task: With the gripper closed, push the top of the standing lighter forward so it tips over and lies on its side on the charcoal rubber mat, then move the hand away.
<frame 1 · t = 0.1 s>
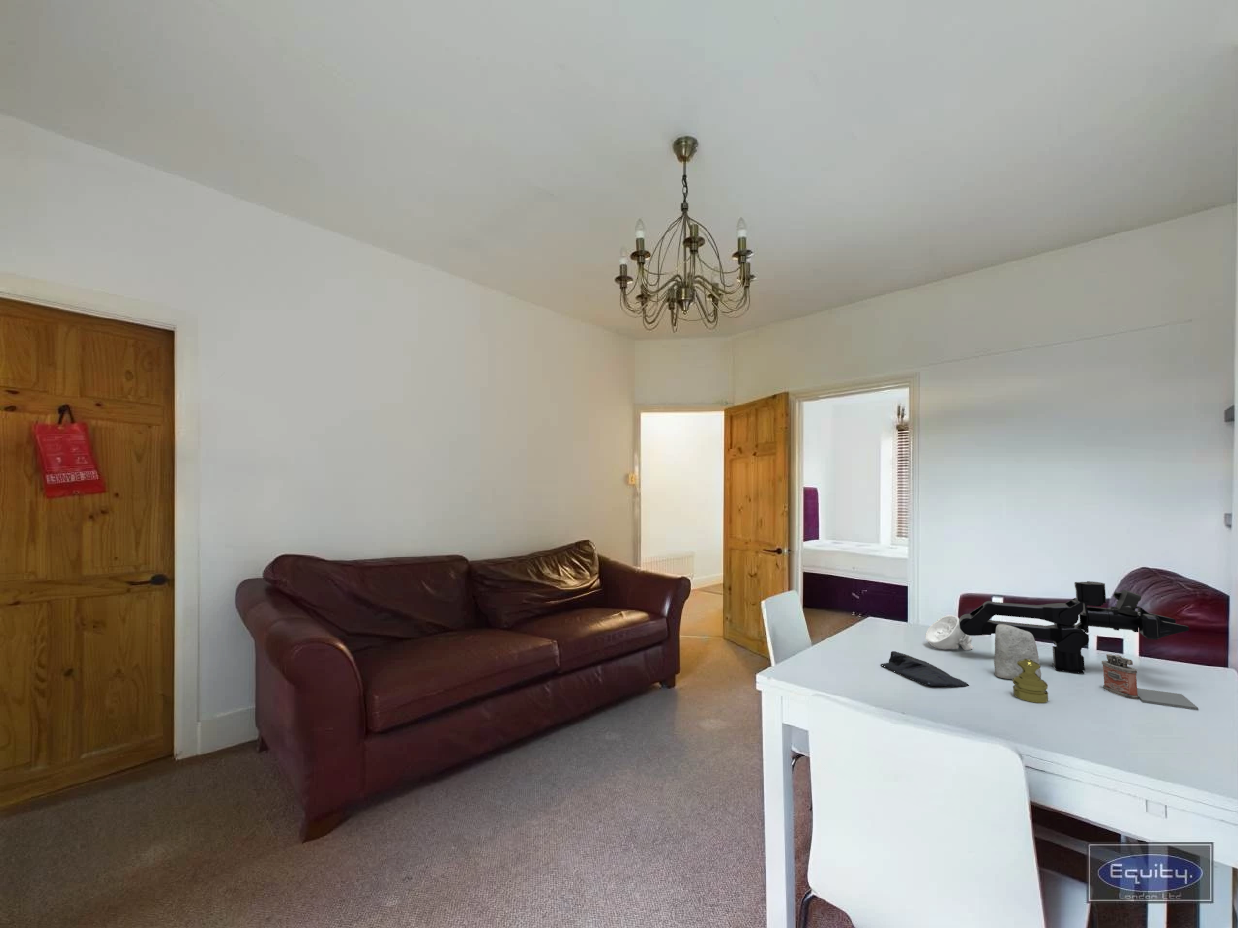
hand: (1181, 624, 144), 17 cm above the table, tool horizontal, fingers open, 9 cm apart
skull bowl: (950, 648, 180), on the table
mat: (1162, 699, 134), on the table
dark slate chunk: (922, 677, 154), on the table
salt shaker: (1030, 698, 136), on the table
lighter: (1120, 694, 138), on the table
decorative stone: (1017, 678, 150), on the table
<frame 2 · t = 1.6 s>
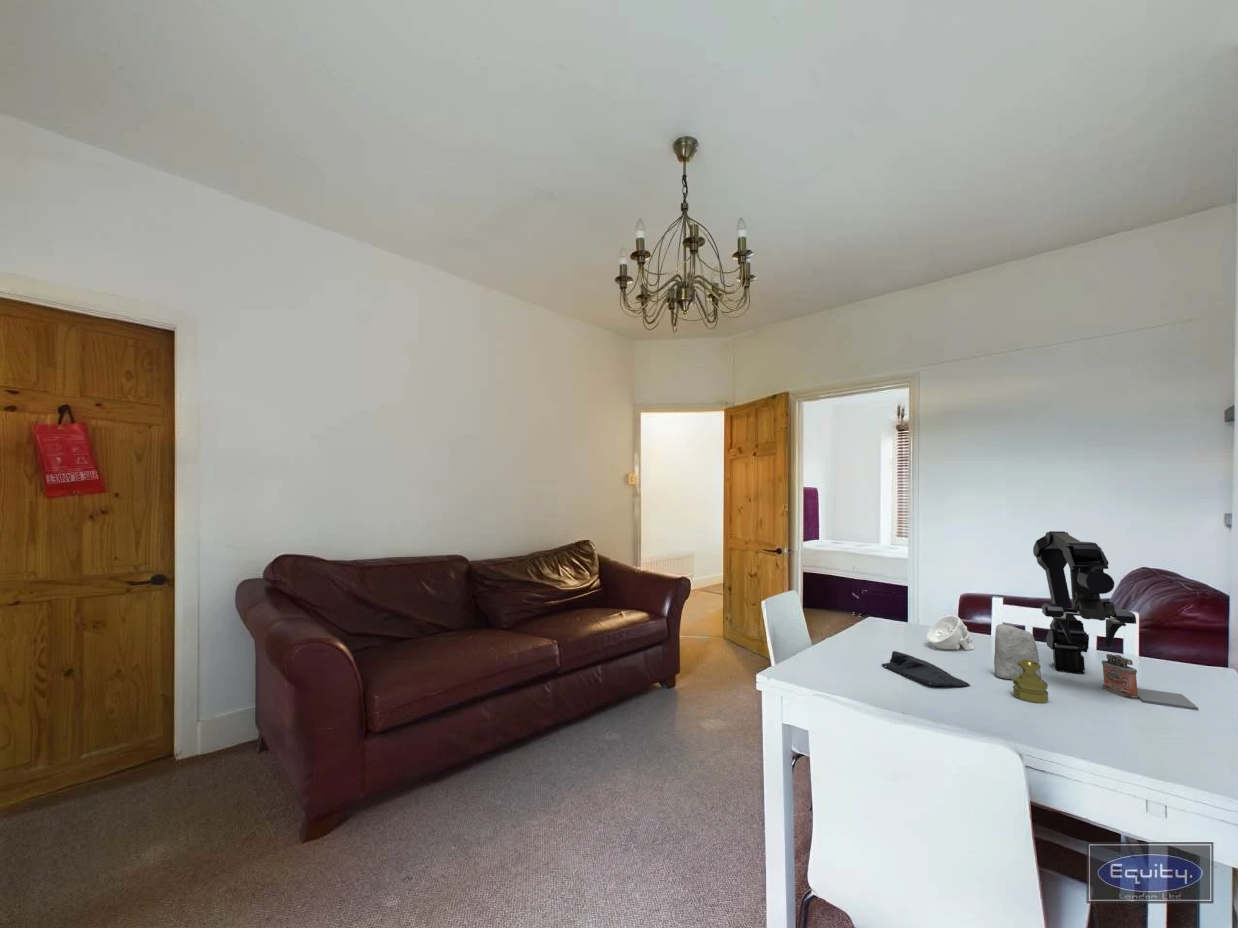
hand: (1088, 644, 142), 12 cm above the table, tool pointing down, fingers open, 8 cm apart
nothing on the table moved.
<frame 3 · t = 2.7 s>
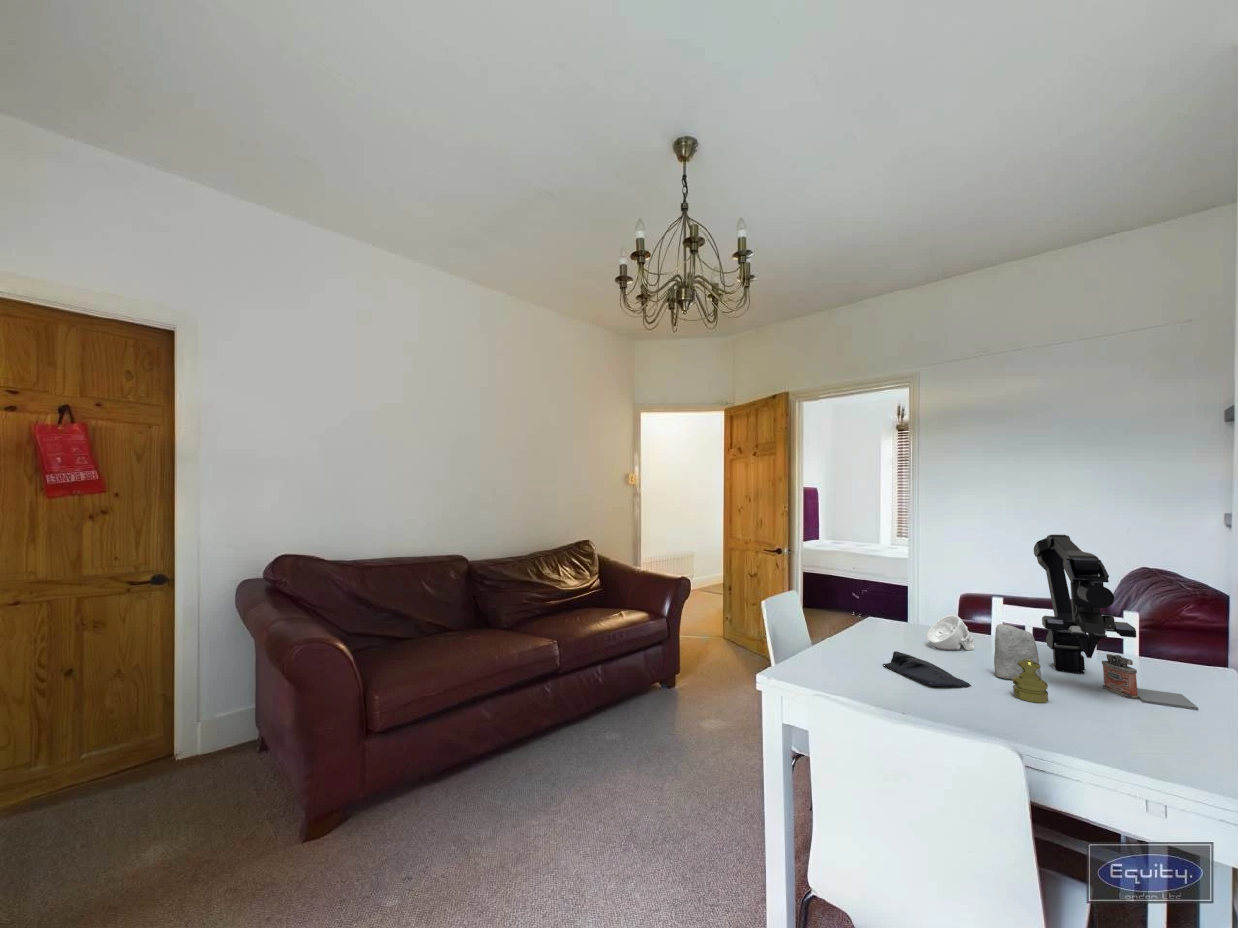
hand: (1088, 657, 142), 9 cm above the table, tool pointing down, fingers closed
nothing on the table moved.
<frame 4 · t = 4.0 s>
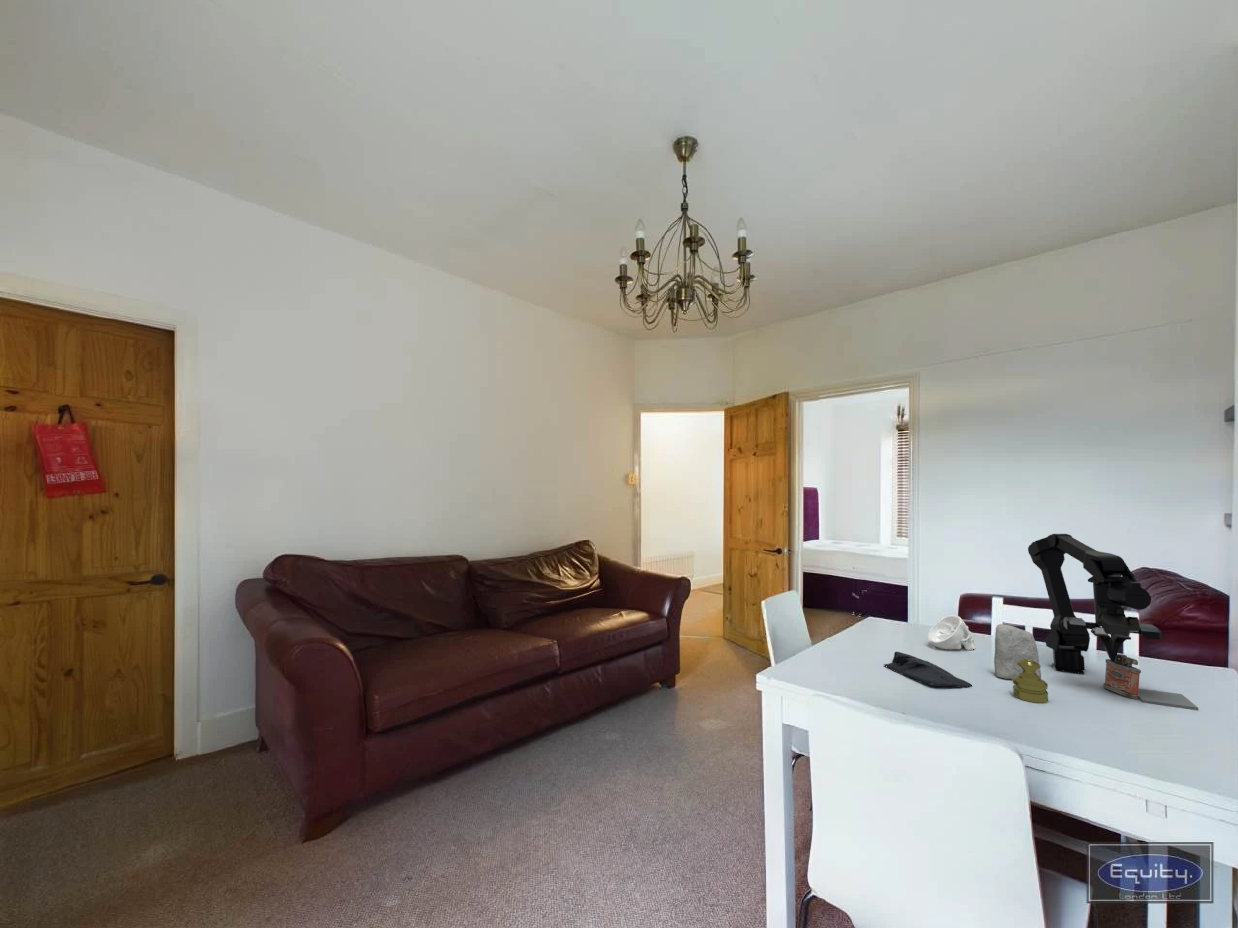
hand: (1112, 659, 139), 9 cm above the table, tool pointing down, fingers closed
lighter: (1120, 693, 138), on the table, touching gripper, mat
everything else where it was.
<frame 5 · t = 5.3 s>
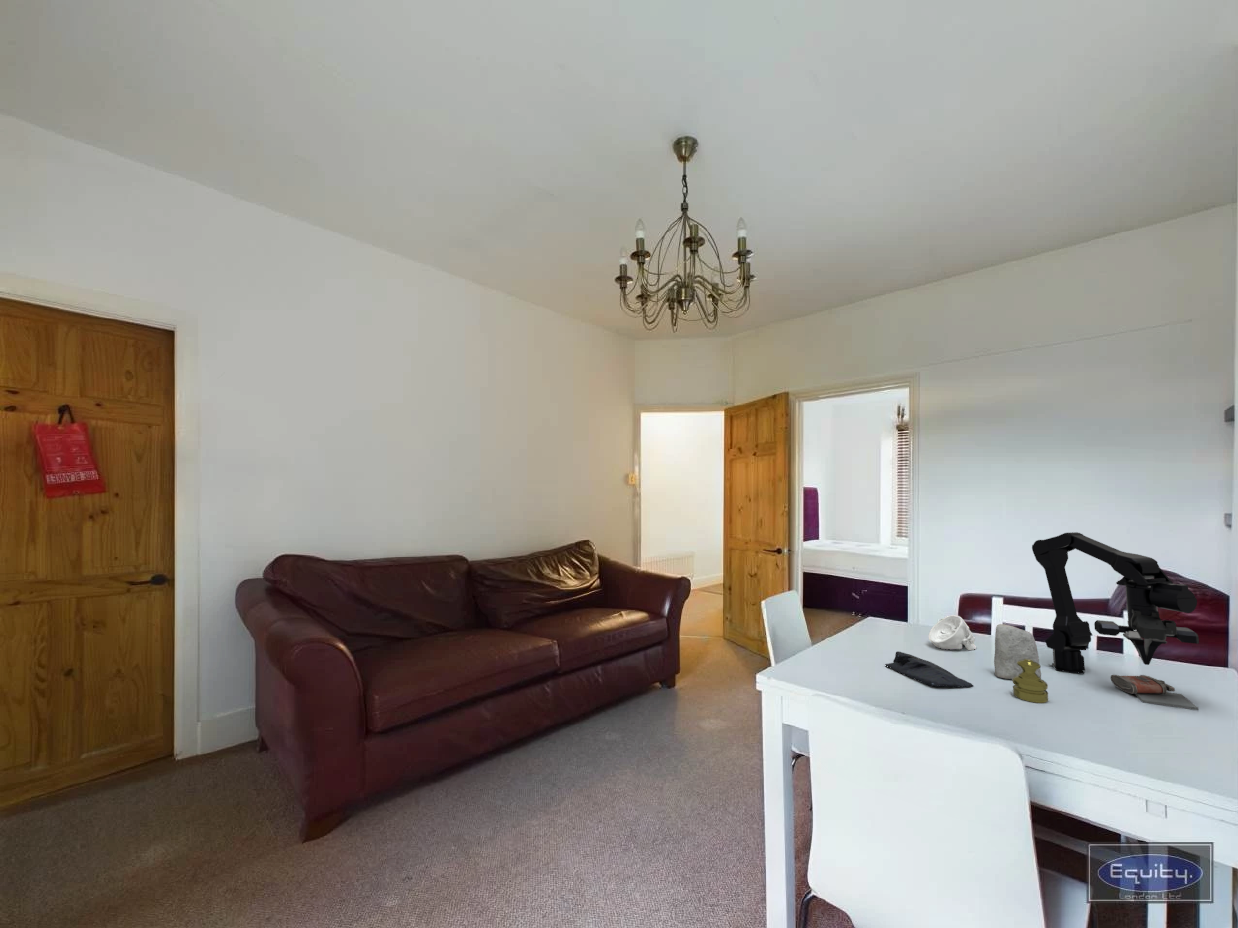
hand: (1146, 664, 136), 9 cm above the table, tool pointing down, fingers closed
lighter: (1120, 683, 139), point 2 cm above the table, touching mat
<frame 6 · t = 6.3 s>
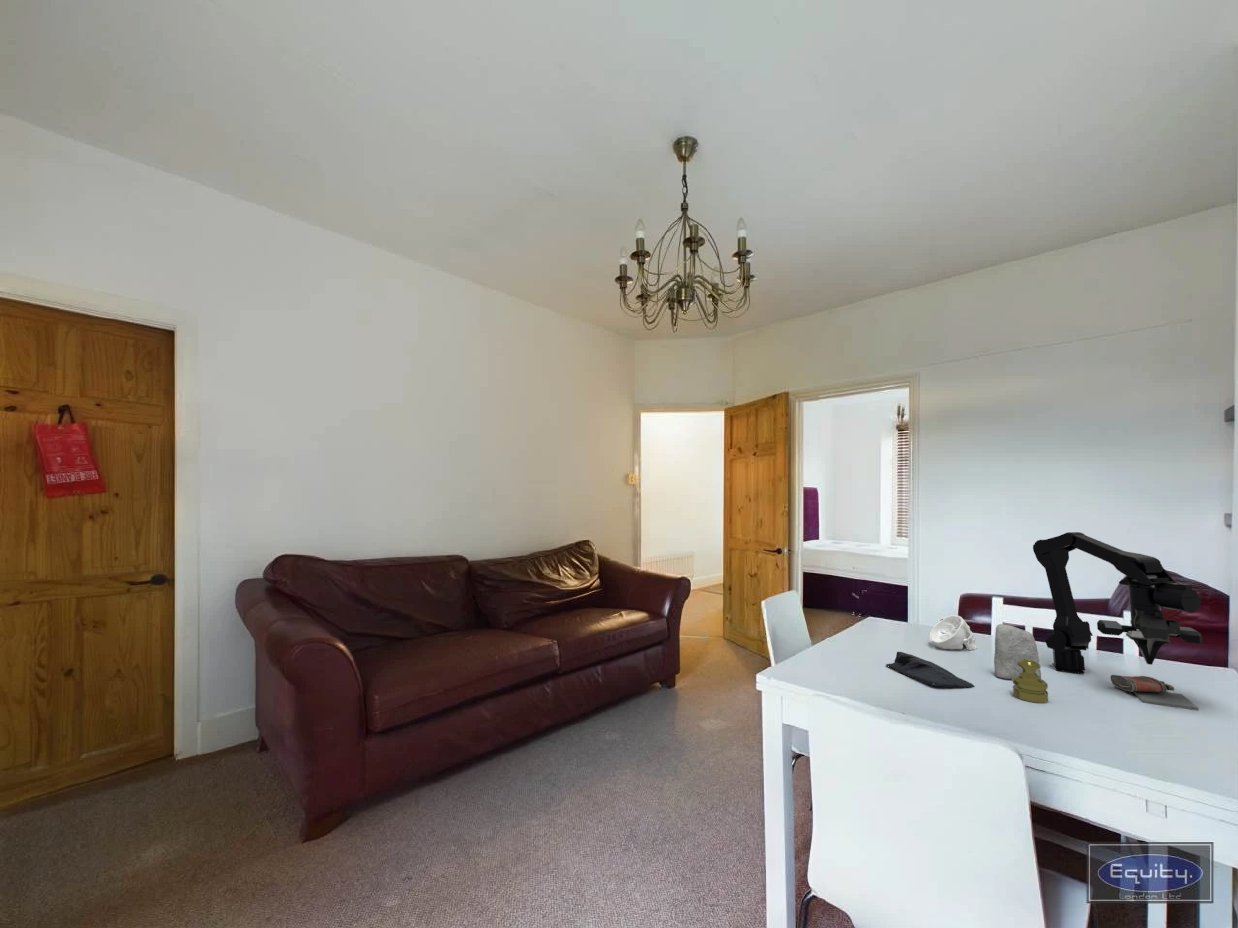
hand: (1149, 663, 135), 9 cm above the table, tool pointing down, fingers closed
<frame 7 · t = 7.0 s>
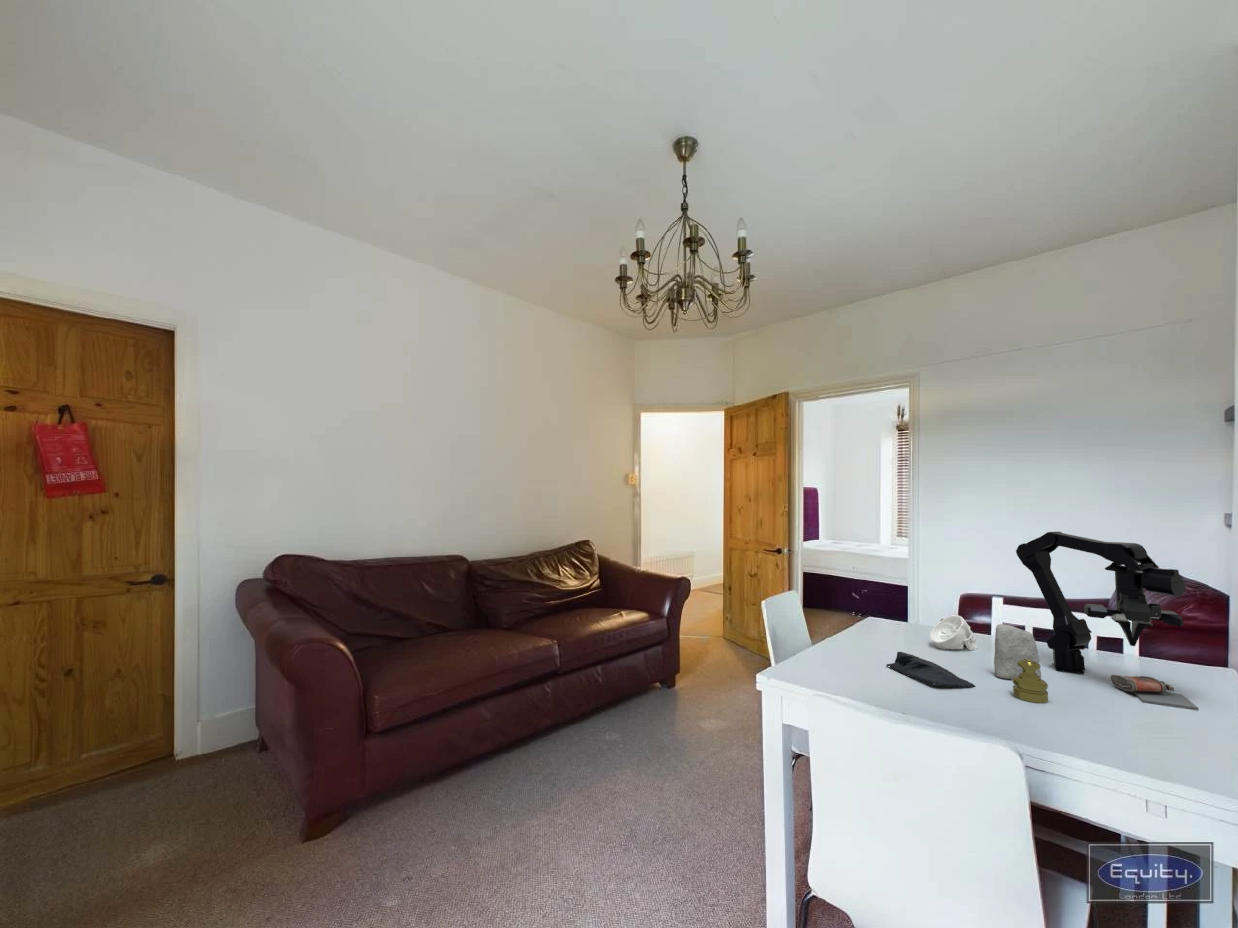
hand: (1132, 645, 142), 12 cm above the table, tool pointing down, fingers closed
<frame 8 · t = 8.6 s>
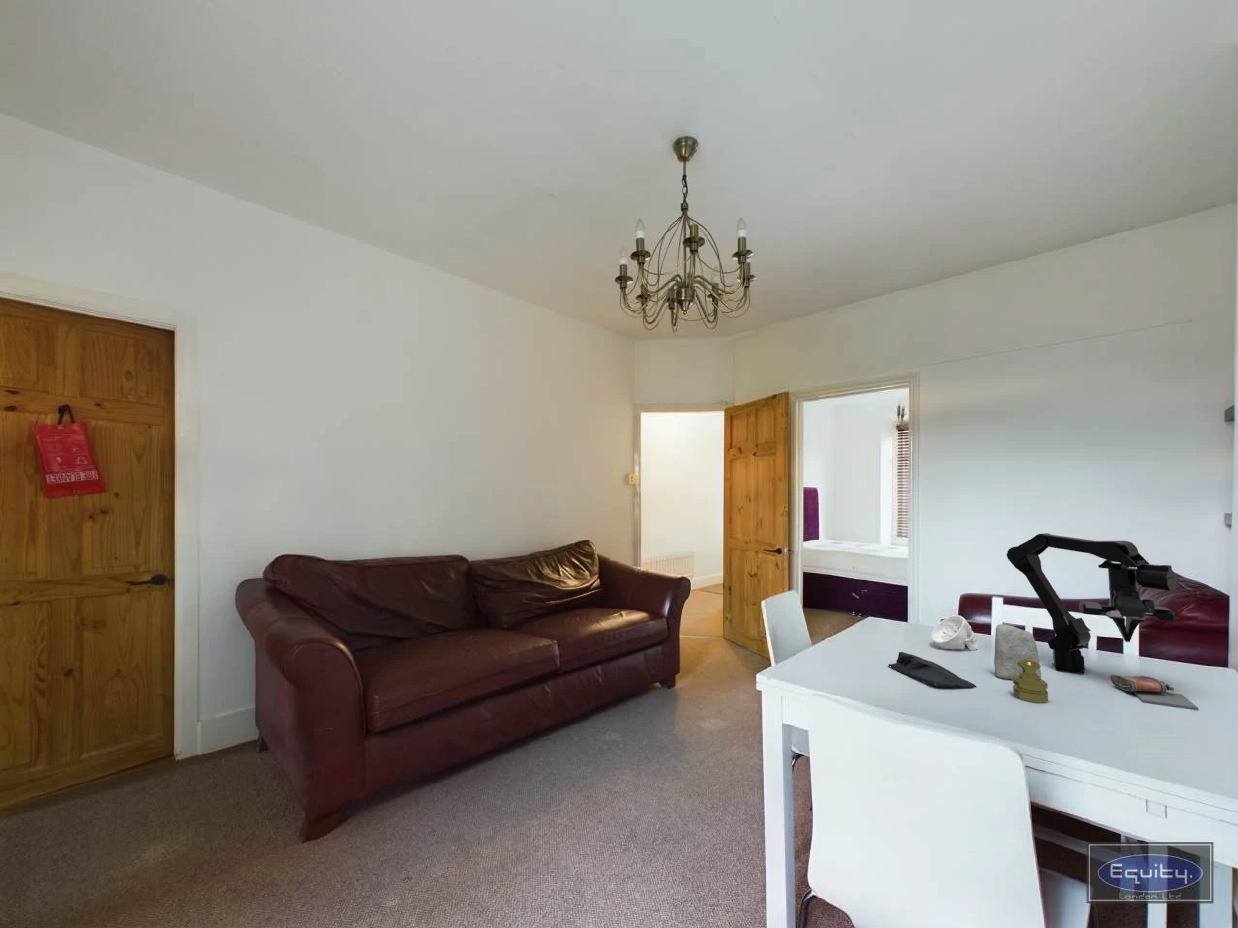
hand: (1127, 641, 144), 12 cm above the table, tool pointing down, fingers closed
at the end: lighter tilted 90°; lighter inside the target area on the mat (6.8 cm from its centre), point 2.3 cm above the mat's base; the gripper is holding nothing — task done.
